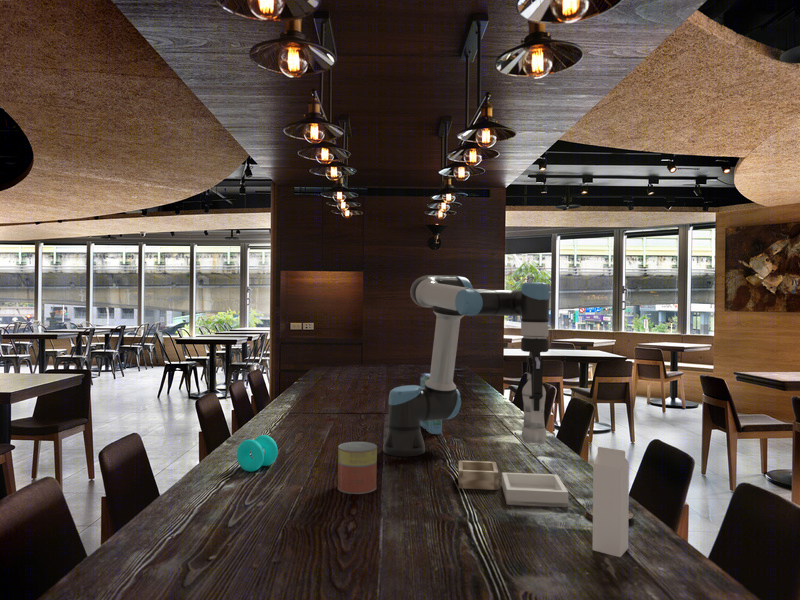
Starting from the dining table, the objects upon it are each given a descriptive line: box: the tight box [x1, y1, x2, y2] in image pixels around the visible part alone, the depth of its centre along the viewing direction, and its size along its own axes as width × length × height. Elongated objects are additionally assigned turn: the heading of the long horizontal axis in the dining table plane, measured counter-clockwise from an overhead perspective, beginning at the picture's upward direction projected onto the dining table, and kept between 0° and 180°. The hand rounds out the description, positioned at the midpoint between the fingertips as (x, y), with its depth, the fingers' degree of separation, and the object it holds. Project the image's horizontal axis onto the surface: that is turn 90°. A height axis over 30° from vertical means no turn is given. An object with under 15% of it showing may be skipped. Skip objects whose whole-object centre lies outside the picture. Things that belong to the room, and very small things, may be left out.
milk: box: [592, 446, 630, 558], centre depth 126 cm, size 6×6×22 cm
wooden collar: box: [457, 460, 499, 491], centre depth 172 cm, size 11×11×5 cm
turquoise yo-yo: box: [236, 434, 279, 473], centre depth 185 cm, size 10×10×10 cm
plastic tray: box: [501, 472, 569, 508], centre depth 161 cm, size 16×16×4 cm
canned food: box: [337, 441, 378, 495], centre depth 166 cm, size 11×11×12 cm
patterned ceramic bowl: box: [584, 504, 635, 522], centre depth 145 cm, size 12×12×8 cm
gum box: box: [419, 373, 443, 435], centre depth 246 cm, size 20×5×23 cm, turn 13°
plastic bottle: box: [521, 372, 547, 446], centre depth 161 cm, size 6×7×20 cm
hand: (534, 419), depth 161 cm, fingers closed on plastic bottle, 6 cm apart
